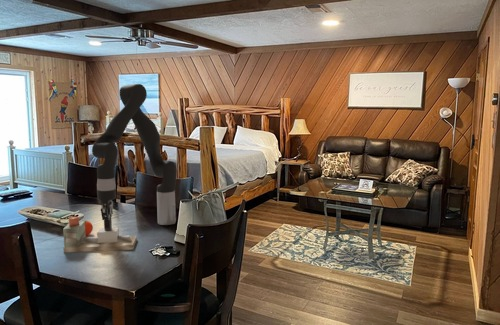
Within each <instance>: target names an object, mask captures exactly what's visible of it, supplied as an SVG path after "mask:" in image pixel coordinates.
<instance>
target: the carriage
mask: <svg viewBox="0 0 500 325" xmlns="http://www.w3.org/2000/svg"><path fill="white" fill-rule="evenodd" d="M105 217H107V216H105ZM111 220H112V217H111V216H110V228H106V229H105V228H104V227H101V228H99V229H98V230H97V232H96V237H97V239H98V243H112V242H118V239H117V237H118V236H120V227H118V226H117V227H113V225H112V224H113V222H112V221H111Z"/></svg>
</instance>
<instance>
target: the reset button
mask: <svg viewBox="0 0 500 325" xmlns="http://www.w3.org/2000/svg"><path fill="white" fill-rule="evenodd" d="M79 221H80V217H79V216H71V217H68V224H69V226H78V225H79Z"/></svg>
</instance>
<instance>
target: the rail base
mask: <svg viewBox="0 0 500 325" xmlns="http://www.w3.org/2000/svg"><path fill="white" fill-rule="evenodd" d="M62 233H63V245H64V246H63V253H86V252H105V251H106V252H107V251H127V250H134V248H135V246H136V243H137V240H138V238H137V237H138V236H137V235H131V234H130V235H128V234H127V235H119V236H118V237H117V239H118V242H112V243H98V239H97V236H87V235H86V236H85V220H82V221H81V220H79V225H78V226H69V223H67V224H66V225H65V226H64V228H63V230H62Z"/></svg>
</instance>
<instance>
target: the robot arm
mask: <svg viewBox="0 0 500 325" xmlns="http://www.w3.org/2000/svg"><path fill="white" fill-rule="evenodd" d="M147 93H148V92H147V89H146V88H145V86H144V85H142V84H141V83H133V84H124V85H122V86H121V87H120V88H119V98H120V100H121V102H122V104H123V107H122V109H121V110H119V111H118V112H117V113H116V114H115V115H114V116H113V117H112V119H111V120H110V121H109V123H108V125H107V126H106V129H105V131H104V132H103V133H102V134H101V135H100V136H99V137H98V138H97V139H96V140H95V142H94V143H93V145H92V148H91V152H92V155H93V157H94V158H97V159H104V160H103V163H101V164H98V165H97V166H96V177H97V181H96V194H97V200H98V201H102V203H101V208H100V214H101V215H100V216H101V220H102V221H103V224H104V225H103V228H105V229H106V228H110V216H111V218H113V214H114V201H113V200H115V199H117V191H116V190H117V188H116V187H117V186H116V184H117V183H116V177H115V175H116V174H115V173H116V172H115V167H116V162H117V159H118V154H119V151H118V146H117V145H116V143H117V142H119V141H120V139H121V138H122V137H123V135H124V132H125V130H127V129H126V128H127V127H128V125H129V123H130V122H131V121H132V123H133V125H134V127H135V129H136V131H137V135H138V136H139V139H140V141H141V143H142V144H143V148H144V149H145V152H146V154H147V157H148V160H149V163H150V167H151V169H152V172H153V174H154V175H155V176H156V177H157V178H162V183H160V184H158V185H156V209H157V210H156V212H157V214H156V215H157V224H158V225H161V226H168V225H169V226H170V225H175V224H176V193H175V192H176V189H175V188H176V186H177V176H178V175H177V174H178V171H177V165H176V163H175V162H174V161H171V160H165V159H164V158H163V157H162V154H161V151H160V145H161V136H160V132H159V130H158V128H157V125H156V124H155V123H154V121H153V120H152V119H151V118H149V116H147V114H145V113H144V112H143V110H142V108H141V107H142V105H143V104H144V103H145V101H146V99H147V97H148V96H147V95H148V94H147ZM105 216H107V217H105ZM111 221H112V219H111Z"/></svg>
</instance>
